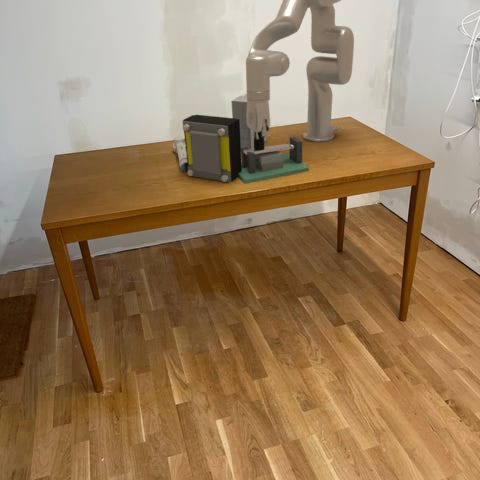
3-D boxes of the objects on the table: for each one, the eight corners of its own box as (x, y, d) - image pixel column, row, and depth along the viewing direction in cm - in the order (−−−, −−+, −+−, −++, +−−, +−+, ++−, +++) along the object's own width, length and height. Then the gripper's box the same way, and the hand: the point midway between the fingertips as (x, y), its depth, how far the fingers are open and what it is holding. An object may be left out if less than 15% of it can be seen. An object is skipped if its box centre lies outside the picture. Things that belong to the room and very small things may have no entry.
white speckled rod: (178, 163, 165) (170, 133, 184) (180, 179, 169) (172, 148, 188) (193, 161, 166) (184, 131, 185) (194, 177, 170) (185, 146, 189)
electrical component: (185, 177, 164) (179, 121, 154) (200, 167, 172) (195, 113, 161) (228, 185, 157) (225, 127, 146) (242, 174, 164) (240, 118, 154)
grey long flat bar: (289, 146, 168) (289, 142, 167) (295, 149, 164) (295, 145, 164) (242, 152, 162) (242, 148, 161) (247, 156, 158) (247, 152, 158)
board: (288, 156, 176) (288, 132, 172) (308, 170, 163) (309, 145, 159) (228, 167, 169) (227, 143, 165) (245, 183, 156) (244, 157, 152)
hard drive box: (250, 138, 196) (248, 90, 186) (266, 140, 193) (266, 91, 183) (233, 151, 184) (230, 100, 174) (251, 153, 181) (249, 101, 171)
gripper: (239, 92, 157) (241, 144, 166) (256, 101, 145) (257, 157, 154) (259, 89, 159) (260, 141, 168) (278, 98, 147) (278, 154, 156)
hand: (259, 149), depth 161 cm, fingers closed
